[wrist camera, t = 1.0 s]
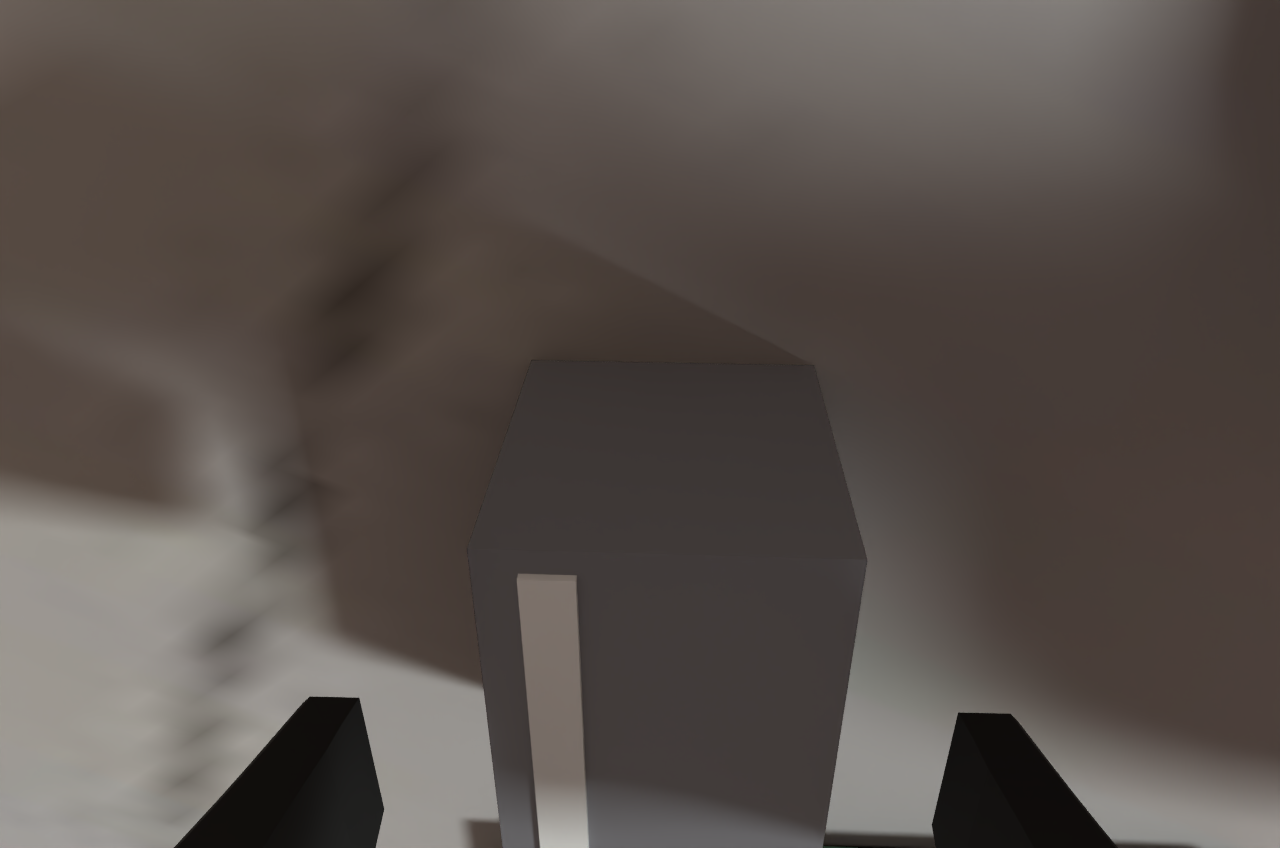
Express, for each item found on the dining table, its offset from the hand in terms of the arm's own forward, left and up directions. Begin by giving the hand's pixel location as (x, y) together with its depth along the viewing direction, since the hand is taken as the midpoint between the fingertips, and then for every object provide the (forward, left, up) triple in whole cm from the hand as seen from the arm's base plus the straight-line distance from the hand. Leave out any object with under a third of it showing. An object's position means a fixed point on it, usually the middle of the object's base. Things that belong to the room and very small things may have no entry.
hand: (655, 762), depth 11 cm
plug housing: (0, 0, -4) cm, 4 cm away
